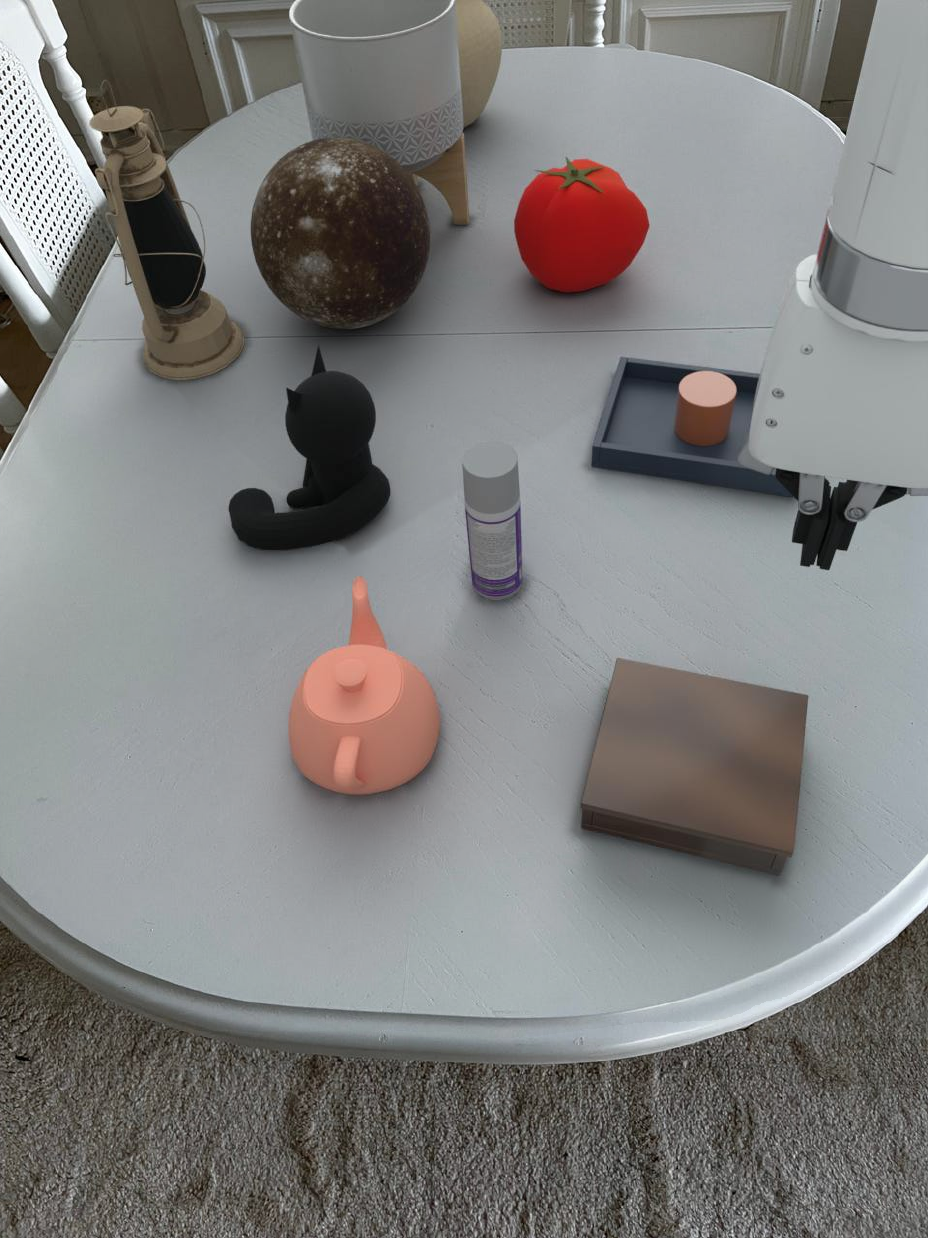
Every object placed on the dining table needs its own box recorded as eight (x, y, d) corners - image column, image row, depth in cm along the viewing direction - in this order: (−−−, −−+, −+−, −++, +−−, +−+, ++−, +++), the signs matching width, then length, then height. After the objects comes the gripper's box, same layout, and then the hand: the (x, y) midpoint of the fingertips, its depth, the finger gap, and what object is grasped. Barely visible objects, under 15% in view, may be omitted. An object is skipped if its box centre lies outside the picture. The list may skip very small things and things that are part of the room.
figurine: (304, 441, 103) (272, 320, 91) (417, 477, 98) (399, 354, 87) (214, 542, 95) (166, 422, 83) (333, 587, 90) (301, 467, 78)
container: (488, 555, 91) (479, 432, 79) (531, 572, 89) (529, 449, 78) (462, 588, 89) (449, 467, 77) (507, 607, 87) (500, 486, 75)
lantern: (168, 309, 120) (76, 48, 97) (259, 313, 118) (188, 47, 95) (124, 384, 111) (11, 116, 88) (222, 389, 110) (134, 117, 86)
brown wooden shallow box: (779, 875, 70) (791, 850, 67) (580, 828, 73) (582, 801, 70) (795, 730, 77) (806, 701, 74) (613, 693, 81) (616, 663, 77)
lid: (791, 858, 66) (793, 853, 65) (580, 809, 69) (580, 803, 69) (806, 700, 74) (808, 694, 73) (616, 663, 77) (616, 657, 77)
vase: (457, 86, 154) (440, -148, 130) (527, 119, 145) (523, -126, 122) (372, 123, 148) (339, -116, 124) (440, 160, 139) (419, -90, 116)
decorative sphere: (348, 387, 108) (315, 218, 93) (239, 321, 118) (192, 157, 102) (472, 304, 116) (460, 136, 101) (360, 249, 126) (334, 87, 110)
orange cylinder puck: (732, 413, 100) (740, 374, 96) (725, 449, 97) (733, 410, 93) (678, 406, 101) (683, 367, 97) (669, 441, 98) (674, 402, 94)
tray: (804, 401, 102) (810, 379, 99) (792, 497, 93) (798, 475, 91) (619, 377, 106) (620, 356, 104) (591, 467, 98) (592, 445, 95)
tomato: (502, 300, 116) (498, 190, 106) (534, 239, 124) (533, 131, 114) (630, 318, 113) (639, 205, 102) (655, 254, 120) (666, 143, 110)
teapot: (281, 830, 75) (252, 768, 67) (309, 643, 86) (287, 573, 79) (438, 828, 74) (426, 766, 67) (445, 640, 85) (436, 569, 78)
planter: (457, 261, 122) (439, 37, 102) (313, 257, 125) (268, 38, 105) (479, 185, 134) (467, -30, 114) (347, 183, 137) (312, -28, 116)
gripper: (1093, 230, 42) (954, 525, 56) (740, 201, 45) (694, 486, 60) (1110, 333, 38) (955, 624, 52) (719, 292, 41) (675, 575, 55)
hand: (816, 549), depth 56 cm, fingers closed
